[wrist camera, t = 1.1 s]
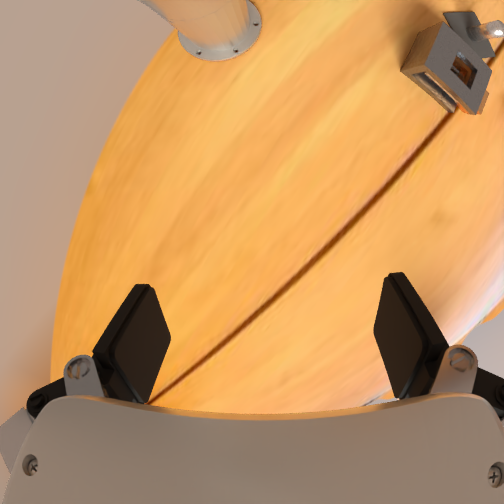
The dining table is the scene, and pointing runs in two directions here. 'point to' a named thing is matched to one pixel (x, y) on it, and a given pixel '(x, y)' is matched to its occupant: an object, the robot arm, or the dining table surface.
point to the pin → (486, 31)
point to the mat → (460, 25)
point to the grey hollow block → (448, 70)
